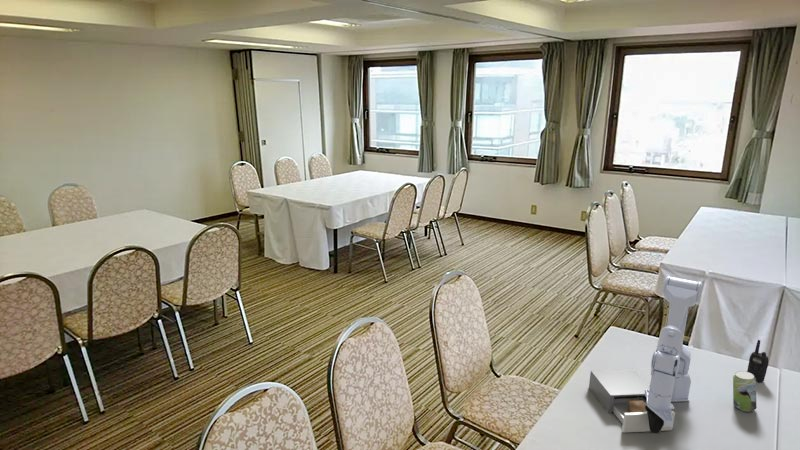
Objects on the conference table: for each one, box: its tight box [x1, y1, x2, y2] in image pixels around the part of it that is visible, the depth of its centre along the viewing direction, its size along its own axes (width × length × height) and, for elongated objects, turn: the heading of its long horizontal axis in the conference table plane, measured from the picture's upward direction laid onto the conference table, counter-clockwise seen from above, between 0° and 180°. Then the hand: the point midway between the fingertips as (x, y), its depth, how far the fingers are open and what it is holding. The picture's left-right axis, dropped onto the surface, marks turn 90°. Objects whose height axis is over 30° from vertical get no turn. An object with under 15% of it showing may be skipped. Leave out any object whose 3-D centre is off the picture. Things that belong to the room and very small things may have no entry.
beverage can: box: [732, 370, 758, 412], centre depth 152 cm, size 6×7×12 cm
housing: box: [588, 368, 650, 414], centre depth 157 cm, size 15×14×6 cm
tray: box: [612, 396, 676, 433], centre depth 148 cm, size 15×14×6 cm
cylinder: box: [627, 399, 647, 413], centre depth 148 cm, size 5×5×4 cm
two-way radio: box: [746, 339, 769, 384], centre depth 167 cm, size 6×4×15 cm
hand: (654, 431), depth 139 cm, fingers closed
